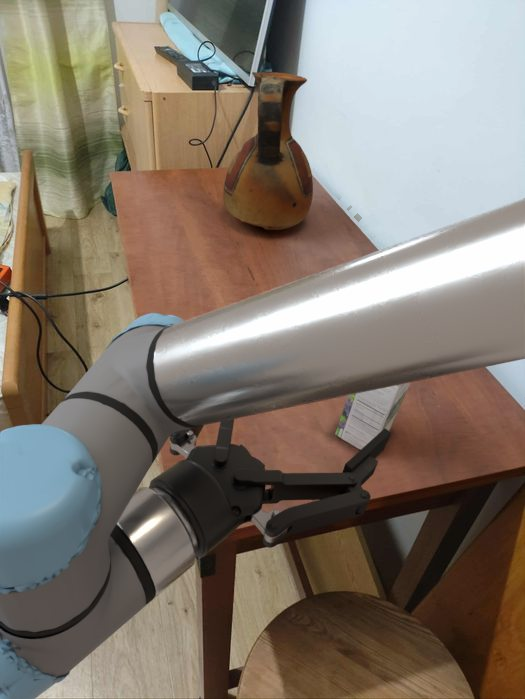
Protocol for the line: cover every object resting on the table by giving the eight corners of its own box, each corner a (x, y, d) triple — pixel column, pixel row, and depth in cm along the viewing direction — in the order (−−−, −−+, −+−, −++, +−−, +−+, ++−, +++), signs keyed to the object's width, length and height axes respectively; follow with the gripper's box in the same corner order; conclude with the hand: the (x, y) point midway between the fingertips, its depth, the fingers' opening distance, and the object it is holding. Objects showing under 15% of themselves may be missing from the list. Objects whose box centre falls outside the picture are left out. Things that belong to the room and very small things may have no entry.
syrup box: (353, 412, 73) (379, 334, 64) (390, 433, 71) (423, 355, 61) (334, 435, 69) (358, 356, 60) (372, 458, 67) (404, 380, 58)
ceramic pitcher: (308, 205, 124) (332, 69, 105) (306, 246, 109) (334, 95, 89) (228, 194, 124) (237, 56, 105) (215, 233, 109) (223, 80, 89)
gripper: (92, 456, 50) (246, 364, 62) (276, 662, 38) (421, 497, 51) (83, 404, 45) (252, 315, 58) (290, 621, 33) (447, 450, 46)
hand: (331, 400), depth 54 cm, fingers open, 13 cm apart
